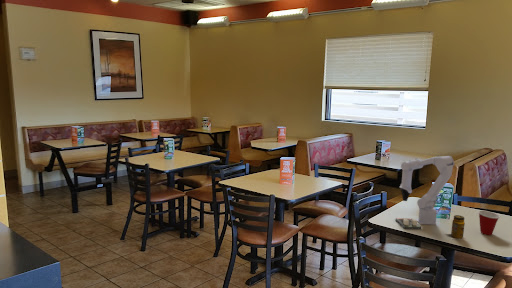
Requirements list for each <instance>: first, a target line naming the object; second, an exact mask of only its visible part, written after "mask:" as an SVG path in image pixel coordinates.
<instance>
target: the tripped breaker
mask: <svg viewBox="0 0 512 288" xmlns="http://www.w3.org/2000/svg"><path fill="white" fill-rule="evenodd" d="M403 224H404V225H409V220H408V219H404V220H403Z"/></svg>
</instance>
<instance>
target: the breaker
mask: <svg viewBox="0 0 512 288" xmlns="http://www.w3.org/2000/svg"><path fill="white" fill-rule="evenodd" d="M411 219H412V224H413V225H417V224H418V221H417V220H416V219H417V218H411Z"/></svg>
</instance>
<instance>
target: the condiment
mask: <svg viewBox="0 0 512 288" xmlns="http://www.w3.org/2000/svg"><path fill="white" fill-rule="evenodd" d="M464 231H465V216H463V215H459V214H458V215H457V214H456V215H454V216H453V220H452V224H451V233H444V235H445V236H446V237H447V238H449V239H451V240H467V238H466V237H464Z"/></svg>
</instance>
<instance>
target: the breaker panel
mask: <svg viewBox="0 0 512 288" xmlns="http://www.w3.org/2000/svg"><path fill="white" fill-rule="evenodd" d="M404 219H408V220H409V225H404V224H403V220H404ZM412 219H413V218H407V217H406V218H404V217H403V218H402V217H401V218H400V217H396V218H395V222H397V224H398V225H400V227H401V228H402V229H403V230H422V226H421V224H420V223H417V225H413V224H412Z"/></svg>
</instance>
